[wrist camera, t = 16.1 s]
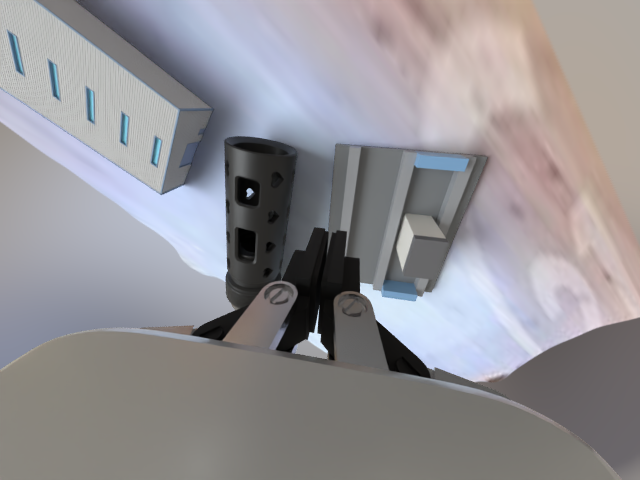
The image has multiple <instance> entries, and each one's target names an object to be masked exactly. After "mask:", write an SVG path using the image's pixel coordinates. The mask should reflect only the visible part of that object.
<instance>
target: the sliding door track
mask: <svg viewBox="0 0 640 480" xmlns="http://www.w3.org/2000/svg"><path fill="white" fill-rule="evenodd" d="M487 158H488V157H487V156H483V155H471V154H458V153H446V152H433V151H421V150H408V149H396V148H383V147H371V146H358V145H346V144H336V146H335V158H334V170H333V182H332V194H331V206H330V218H329V230H328V232H329V238H328V249H329V244H330V240H331V235H332V232H334V233H336V231H337V230H340V231H347V239H346V249H345V256H347V257H354V258H360V282H361V283H368V284H373V290H379V291H381V292H382V297H388V298H395V299H402V300H408V301H416V298H417V296H421V297H422V296H423V293H424V291H425V292H432V290H433V287H434V285H435V282H436V280H437V278H438V275H439V273H440V270H441V268H442V266H443V263H444V261H445V258H446V256H447V254H448V251H449V249H450V247H451V244H452V242H453V239H454V237H455V235H456V232H457V230H458V227H459V225H460V223H461V220H462V218H463V215H464V213H465V211H466V208H467V206H468V203H469V201H470V199H471V196H472V194H473V192H474V189H475V187H476V184H477V182H478V180H479V177H480V175H481V172H482V170H483V168H484V165H485V163H486V160H487ZM404 213H408V214H418V215H427V216H432V218H433V219H434V221H435V222H436V224H437V225H438V227H439V228H440V230H441V231H442V233H443V234H444V236H445V237H446V239H447V240H448V242H449V244H448V246H447V249H446V251H445V254H444V256H443V258H442V261H441V263H440V266H439V268H438V271H437V273H436V275H435V278H434V280H429V279H422V278H415V277H407V276H403V272H402V268H401V264H400V260H399V257H398V253H397V249H396V242H397V239H398V235H399V231H400V228H401V224H402V220H403V217H404ZM327 253H328V250H327Z"/></svg>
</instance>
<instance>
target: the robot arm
mask: <svg viewBox="0 0 640 480" xmlns="http://www.w3.org/2000/svg"><path fill="white" fill-rule="evenodd" d="M328 238H329V232H325V229H324V228H315V227H314V230H313V232H312V235H311V238H310V240H309V243H308V246H307V248H306V251H301V250H295V252H294V254H293V256H292V259H291V261H290V263H289V265H288V267H287V270H286V272H285V274H284V276H283V279H282V281H276V282H272V283H269V284H268V285H266V286H265V287H264V288H263V289H262V290H261V291H260V292H259V294H258V295H257V296H256V298H255V299H254V300H253V302H252V303H251V304H249V305H247V306H244V307H242V308H240V309H238V310H235V311H233V312H231V313H228V314H226V315H224V316H221V317H219V318H217V319H214V320H212V321H210V322H207V323H205V324H204V325H202V326H200V327H199V328H198V329H195V327H194V326H173V327H149V328H108V329H107V328H106V329H95V330H89V331H83V332H77V333H73V334H69V335H65V336H62V337H58V338H55V339H53V340H51V341H48V342H46V343H43V344H42V345H40V346H38V347H36V348H34V349H32V350H31V351H29V352H27V353H26V354H24V355H23V356H21V357H19V358H18V359H16V360H14V361H13V362H11V363H10V364H8V365H7V366H5V367H4V368H2V369H1V370H0V480H622V479H621V478H620V477H619V476H618V474H617V473H616V472H615V471H614V470H613V469H612V468H611V467H610V466H609V464H608V463H607V462H606V461H605V460H604V459H603V458H602V457H601V456H600V455H599V454H598V453H597V452H596V451H595V450H594V449H593V448H591V447H590V446H589V445H588V444H587V443H585V442H584V441H583V440H581V439H580V438H579V437H578V436H576V435H575V434H573V433H572V432H570V431H569V430H567V429H566V428H564V427H563V426H561V425H559V424H558V423H556V422H554V421H553V420H551V419H549V418H547V417H545V416H543V415H541V414H539V413H537V412H536V411H534V410H532V409H529V408H528V407H526V406H523V405H521V404H518V403H516V402H513V401H511V400H510V399H509V398H508V397H506V396H505V395H503V394H501V393H500V392H498V391H496V390H493V389H490V388H488V387H485V386H483V385H480V384H477V383H475V382H472V381H469V380H467V379H464V378H462V377H459V376H456V375H454V374H451V373H449V372H446V371H443V370H441V369H438V368H434V370H432V369H429V368H427V367H426V365H425V364H424V363H423V362H422V361H421V360H420V359H419V358H418V357H417V356H416V355H415V354H414V353H413V352H411V351H410V350H409V349H408V348H407V347H406V346H405V345H404V344H402V343H401V342H400V341H399V340H398V339H397V338H396V337H395V336H394V335H392V334H391V333H390V332H389V331H388V330H387V329H386V328H385V327H383V326H382V325H381V324H380V323H379V322H378V321H377V320H376V319H375V315H374V311H373V307H372V304H371V302H370V300H369V299H368V298H367V297H366V296H364V295H363V294H361V293H360V258H354V257H347V256H345V249H346V239H347V231H340V230H337V231H336V233H334V232H332V235H331V240H330V244H329V249H328ZM327 250H328V253H327ZM319 305H320V306H319ZM318 310H319V320H318V334H321V343H322V344H323V345H324V347H325V348H326V349H327V350H328V355H327V357H328V358H327V359H322V358H316V357H311V356H305V355H300V354H295V352H296V349H297V344H298V343H300V342H301V341H303V340H305V339H306V340H308V336H309V332H312V333H314V330H315V325H316V320H317V315H318Z"/></svg>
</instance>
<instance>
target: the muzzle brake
mask: <svg viewBox="0 0 640 480" xmlns="http://www.w3.org/2000/svg"><path fill="white" fill-rule="evenodd" d="M224 145H225V190H226V235H227V269H228V272H227V274H226V295H227V298H228V300H229V301H230V302H231V304H232V306H233V308H234V309H235V310H238V309H240V308H242V307H244V306H247V305H249V304H251V303H252V302H253V300H254V299H255V298H256V296H257V295H258V294H259V292H260V291H261V290H262V289H263V288H264V287H265V286H266V285H268V284H269V283H272V282H276V281H281V273H280V270H281V266H282V259H283V252H284V245H285V238H286V231H287V223H288V216H289V209H290V202H291V195H292V188H293V181H294V173H295V167H296V160H297V151H296V150H295V149H294V148H292V147H290V146H288V145H286V144H283V143H279V142H275V141H271V140H267V139H262V138H255V137H244V136H236V137H229V138H227V139H225V140H224ZM248 188H251V189H252V190H253V192H254V193H252V194H251V195H250V196H249V197H246V196H247V192H246V190H247V189H248Z"/></svg>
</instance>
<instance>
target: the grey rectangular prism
mask: <svg viewBox="0 0 640 480" xmlns="http://www.w3.org/2000/svg"><path fill="white" fill-rule="evenodd" d="M448 244H449V242H448V240H447V239H446V237H445V236H444V234H443V233H442V231H441V230H440V228H439V227H438V225H437V224H436V222H435V221H434V219H433V218H432V216H427V215H418V214H408V213H404V217H403V220H402V224H401V228H400V231H399V235H398V239H397V242H396V249H397V253H398V257H399V260H400V264H401V268H402V272H403V276H407V277H415V278H422V279H429V280H434V278H435V275H436V273H437V271H438V268H439V266H440V263H441V261H442V258H443V256H444V254H445V251H446V249H447V246H448Z"/></svg>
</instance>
